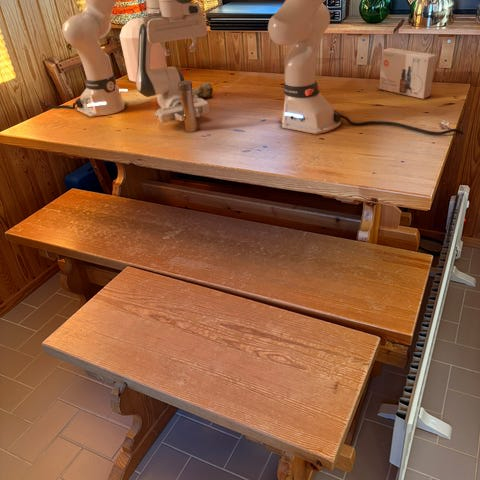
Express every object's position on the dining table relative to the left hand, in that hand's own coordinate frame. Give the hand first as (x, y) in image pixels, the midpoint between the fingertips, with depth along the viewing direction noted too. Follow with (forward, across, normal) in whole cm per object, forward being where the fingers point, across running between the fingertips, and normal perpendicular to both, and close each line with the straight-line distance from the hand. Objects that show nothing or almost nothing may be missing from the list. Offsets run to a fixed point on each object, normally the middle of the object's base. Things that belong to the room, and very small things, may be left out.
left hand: (190, 117), depth 171 cm
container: (-87, +10, +5) cm, 88 cm away
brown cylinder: (-1, 0, +5) cm, 5 cm away
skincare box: (+18, +86, +5) cm, 88 cm away
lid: (-1, 0, -12) cm, 12 cm away
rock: (-36, +18, +5) cm, 40 cm away
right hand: (-1, 0, -22) cm, 22 cm away
